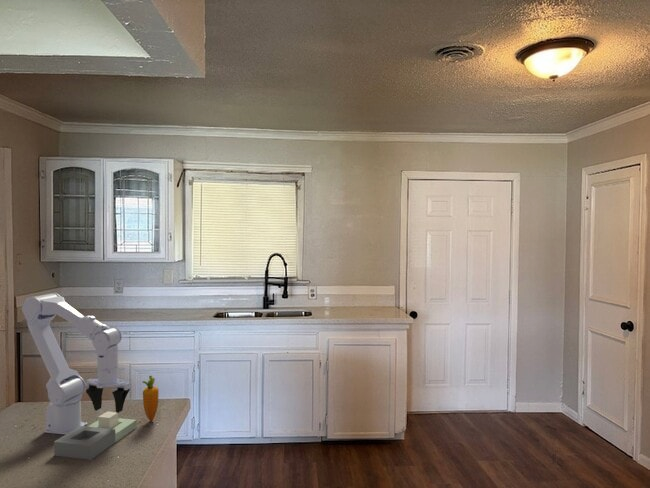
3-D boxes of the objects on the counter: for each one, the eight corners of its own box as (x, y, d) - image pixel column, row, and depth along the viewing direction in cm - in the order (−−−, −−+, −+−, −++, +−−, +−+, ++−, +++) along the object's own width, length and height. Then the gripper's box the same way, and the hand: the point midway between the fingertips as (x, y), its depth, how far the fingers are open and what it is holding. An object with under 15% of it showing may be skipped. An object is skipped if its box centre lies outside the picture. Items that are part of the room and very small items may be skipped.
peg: (98, 435, 135) (98, 416, 135) (107, 430, 139) (107, 411, 138) (110, 437, 134) (109, 417, 134) (118, 431, 138) (118, 412, 138)
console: (91, 459, 121) (90, 445, 120) (54, 455, 123) (53, 441, 123) (136, 427, 140) (136, 415, 140) (103, 424, 143) (103, 412, 142)
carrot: (153, 425, 142) (152, 379, 141) (140, 424, 143) (139, 378, 142) (162, 418, 147) (161, 374, 146) (149, 417, 148) (148, 373, 147)
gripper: (78, 370, 133) (78, 413, 134) (119, 373, 130) (120, 417, 131) (94, 362, 140) (95, 404, 141) (134, 365, 137) (135, 408, 138)
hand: (108, 410), depth 136 cm, fingers open, 7 cm apart
